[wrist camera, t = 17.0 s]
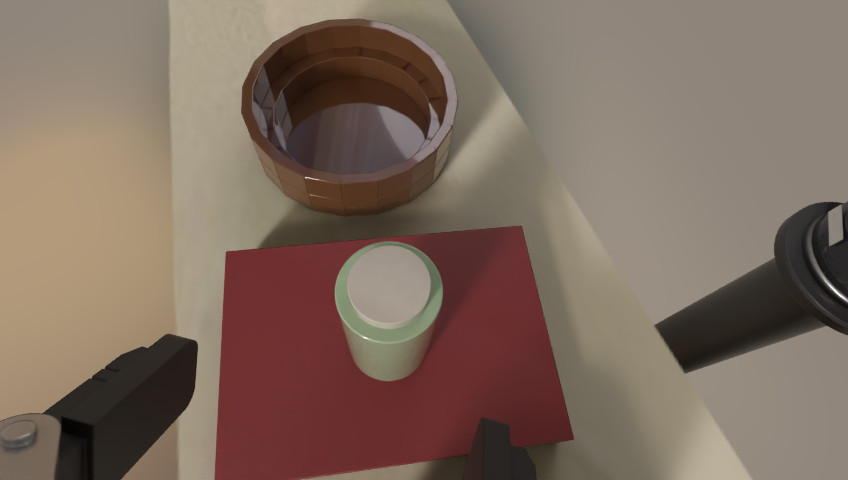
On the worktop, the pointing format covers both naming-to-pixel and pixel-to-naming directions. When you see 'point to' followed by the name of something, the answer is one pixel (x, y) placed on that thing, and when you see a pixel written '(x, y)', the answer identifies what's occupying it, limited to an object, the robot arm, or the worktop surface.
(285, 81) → the bowl
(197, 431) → the worktop surface
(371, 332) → the pepper shaker
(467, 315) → the book
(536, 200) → the worktop surface
